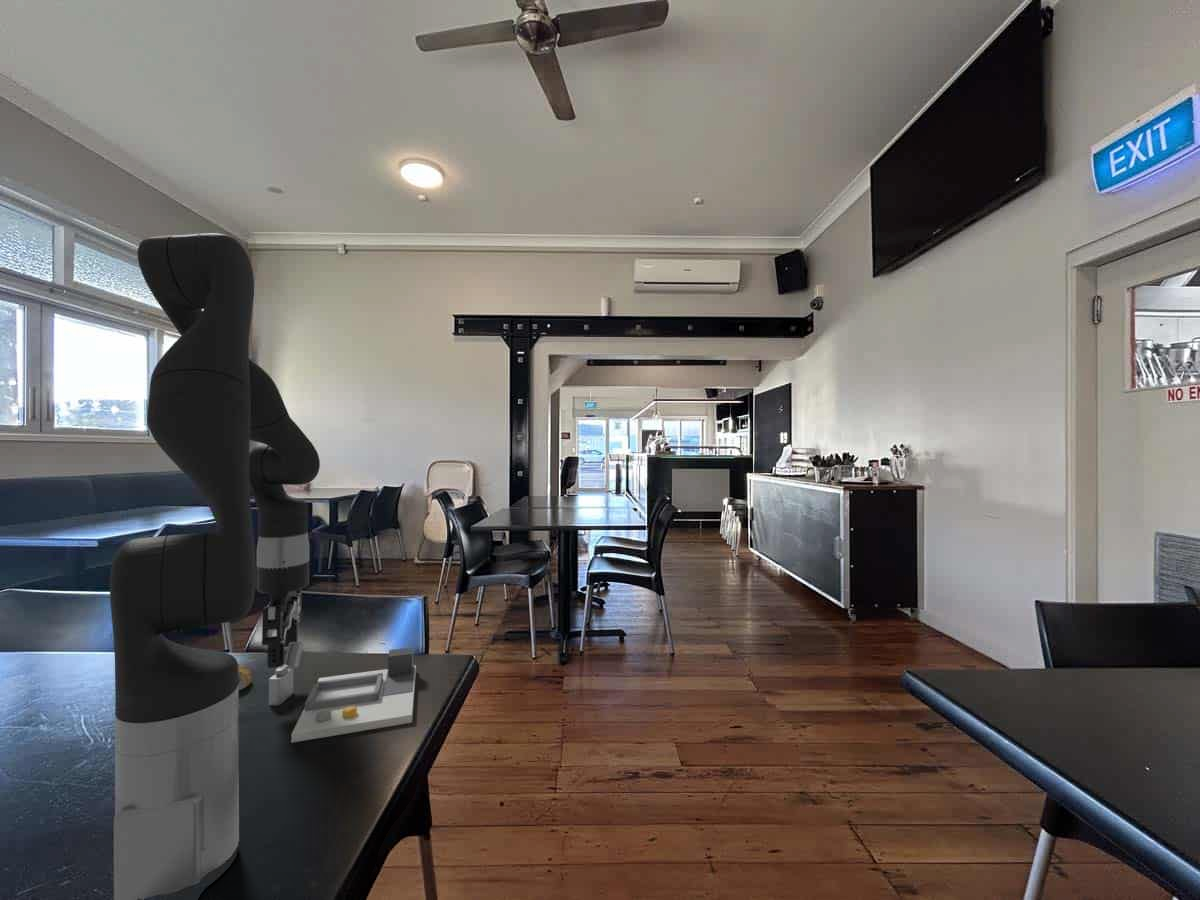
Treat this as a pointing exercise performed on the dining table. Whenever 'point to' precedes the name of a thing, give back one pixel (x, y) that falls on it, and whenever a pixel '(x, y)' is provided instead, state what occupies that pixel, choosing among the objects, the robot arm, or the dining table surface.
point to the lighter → (284, 675)
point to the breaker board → (356, 704)
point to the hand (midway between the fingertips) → (283, 655)
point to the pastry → (243, 677)
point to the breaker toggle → (400, 661)
